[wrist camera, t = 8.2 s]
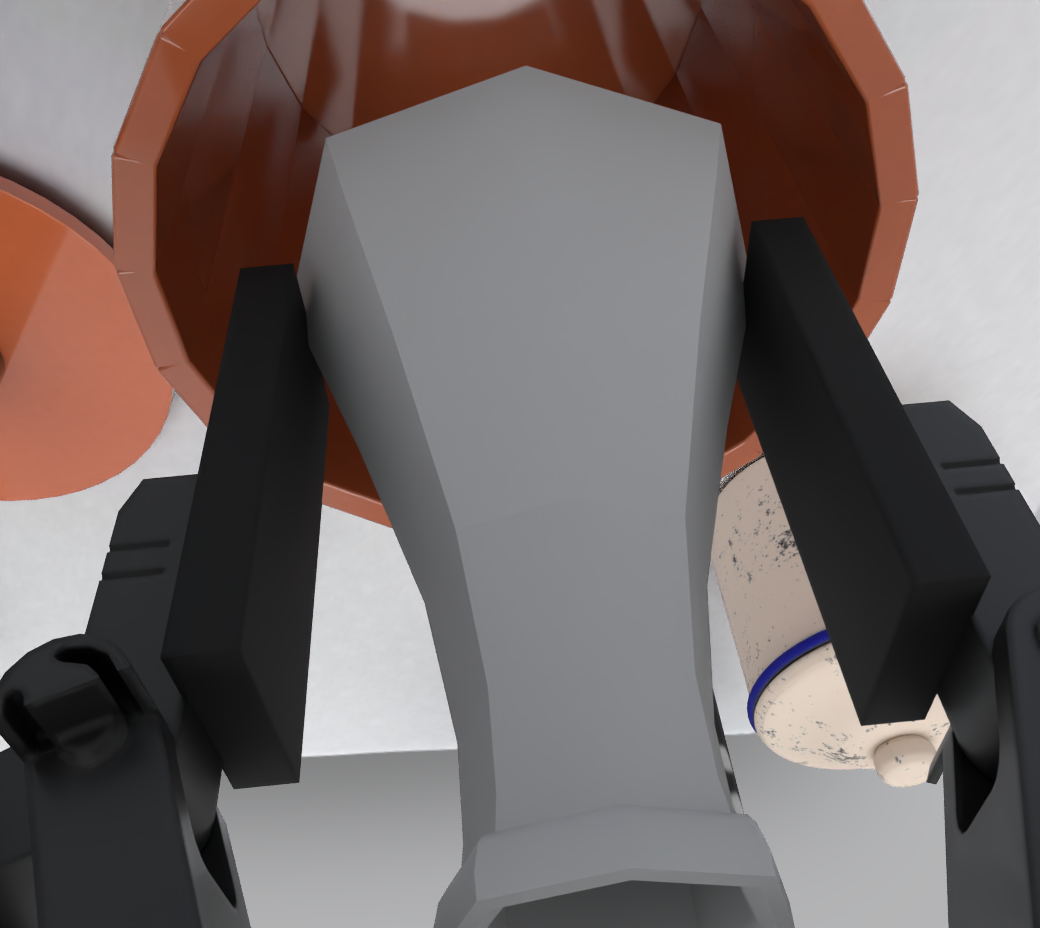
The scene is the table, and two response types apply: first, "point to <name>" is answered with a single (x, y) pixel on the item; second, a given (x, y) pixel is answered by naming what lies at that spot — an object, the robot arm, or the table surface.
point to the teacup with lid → (799, 648)
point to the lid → (67, 356)
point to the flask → (553, 477)
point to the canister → (461, 63)
